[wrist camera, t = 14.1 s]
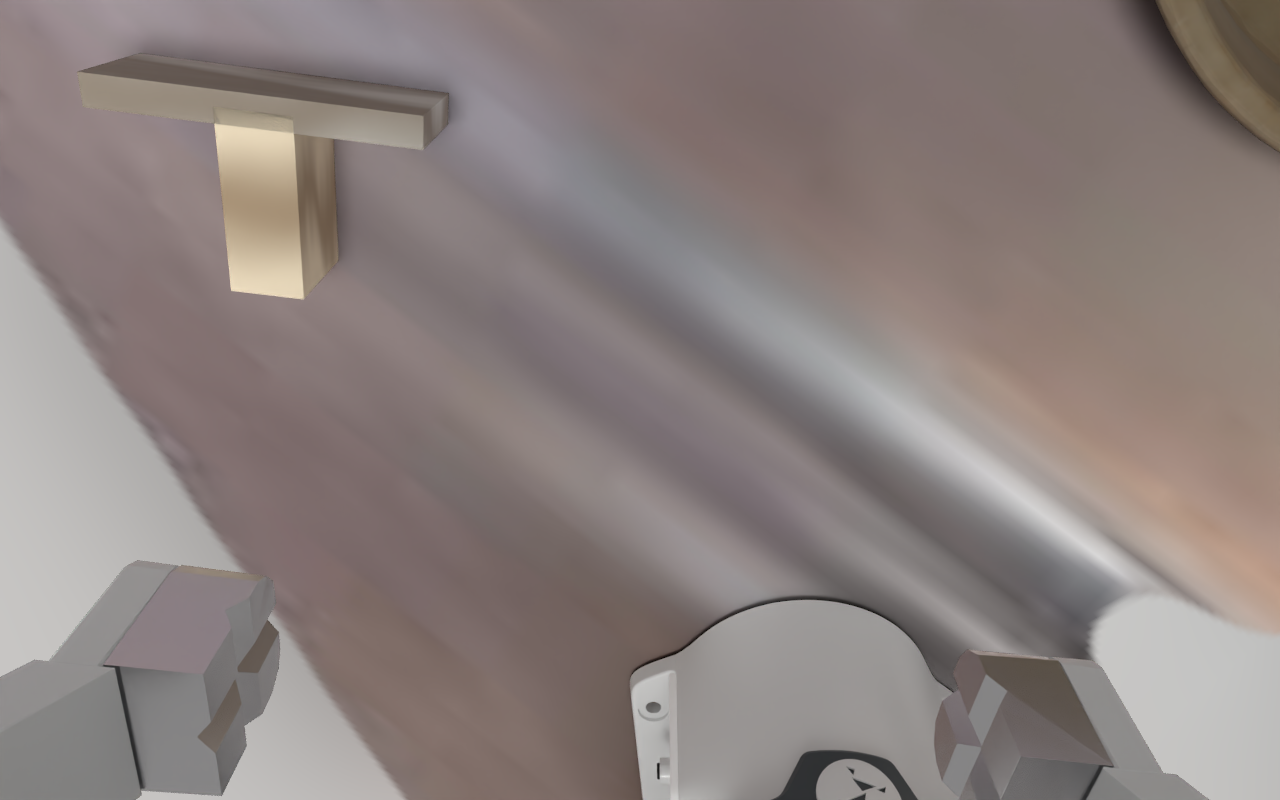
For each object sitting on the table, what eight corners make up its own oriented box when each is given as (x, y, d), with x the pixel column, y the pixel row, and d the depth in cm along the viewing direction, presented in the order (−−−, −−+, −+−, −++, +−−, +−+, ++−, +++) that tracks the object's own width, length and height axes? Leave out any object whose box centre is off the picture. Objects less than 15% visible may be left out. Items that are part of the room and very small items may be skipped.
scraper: (445, 273, 40) (422, 313, 36) (165, 239, 39) (111, 276, 35) (448, 93, 36) (423, 115, 32) (140, 53, 36) (77, 71, 32)
